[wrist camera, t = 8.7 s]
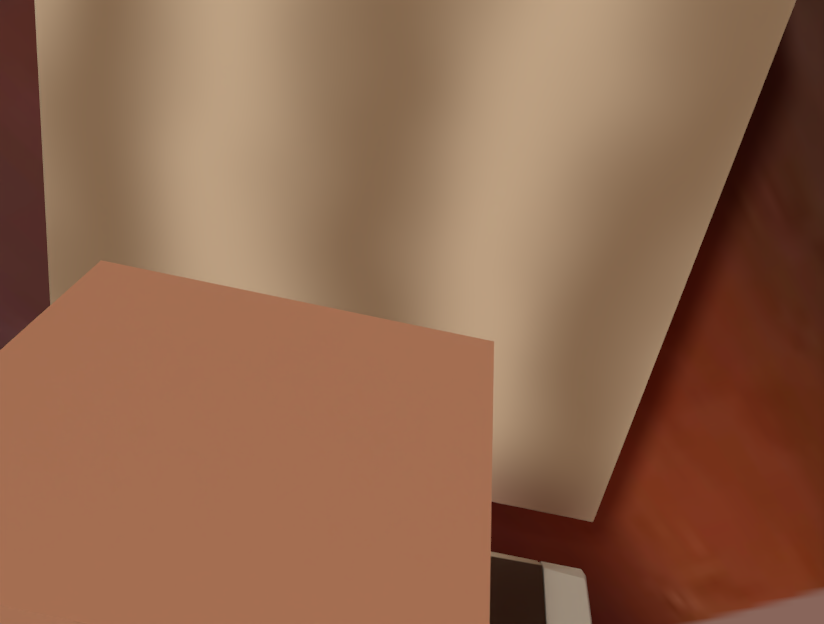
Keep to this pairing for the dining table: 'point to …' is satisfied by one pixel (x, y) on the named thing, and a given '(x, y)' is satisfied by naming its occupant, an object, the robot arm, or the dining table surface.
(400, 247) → the birch base
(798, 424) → the dining table surface
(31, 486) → the terracotta block
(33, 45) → the dining table surface
